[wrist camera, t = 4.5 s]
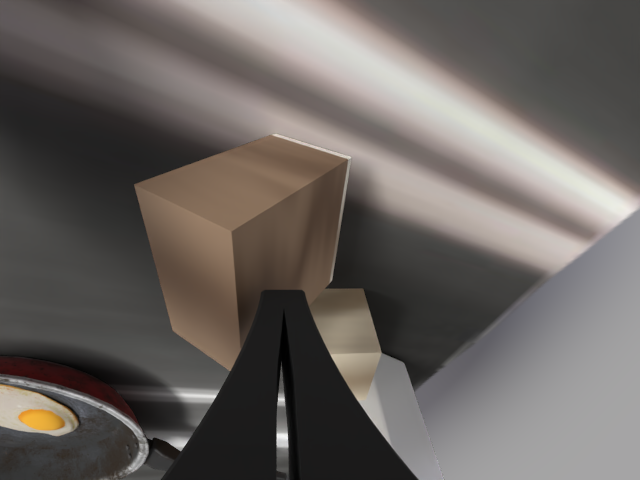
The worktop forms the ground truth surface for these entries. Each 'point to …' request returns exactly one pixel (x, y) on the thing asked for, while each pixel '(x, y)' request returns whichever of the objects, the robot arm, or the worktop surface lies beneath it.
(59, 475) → the frying pan
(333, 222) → the walnut block
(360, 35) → the worktop surface
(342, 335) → the maple block
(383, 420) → the jar
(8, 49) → the worktop surface
